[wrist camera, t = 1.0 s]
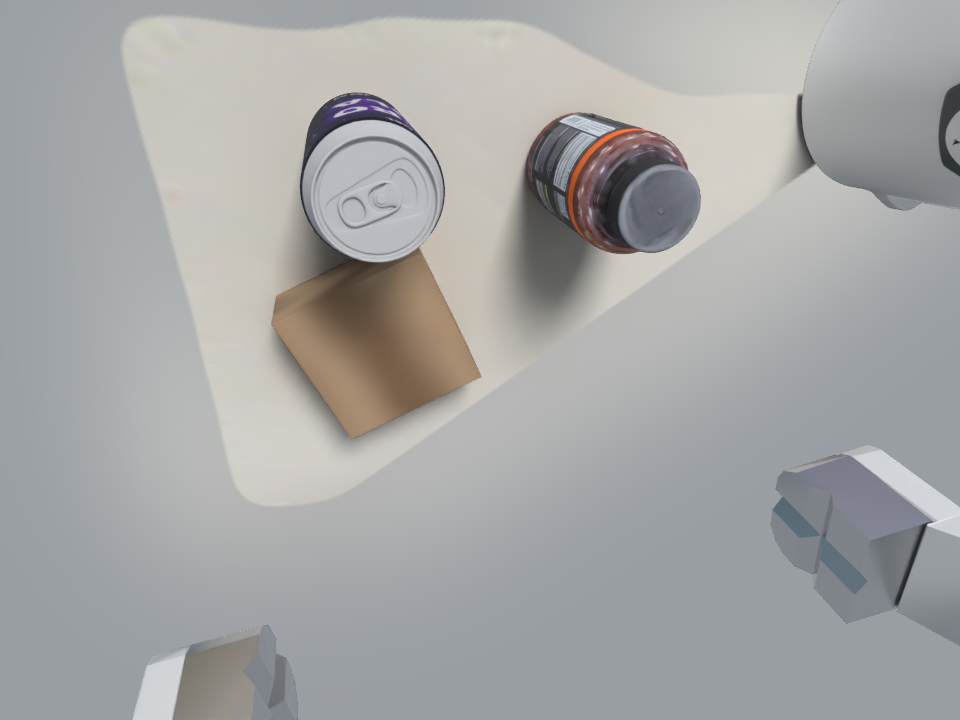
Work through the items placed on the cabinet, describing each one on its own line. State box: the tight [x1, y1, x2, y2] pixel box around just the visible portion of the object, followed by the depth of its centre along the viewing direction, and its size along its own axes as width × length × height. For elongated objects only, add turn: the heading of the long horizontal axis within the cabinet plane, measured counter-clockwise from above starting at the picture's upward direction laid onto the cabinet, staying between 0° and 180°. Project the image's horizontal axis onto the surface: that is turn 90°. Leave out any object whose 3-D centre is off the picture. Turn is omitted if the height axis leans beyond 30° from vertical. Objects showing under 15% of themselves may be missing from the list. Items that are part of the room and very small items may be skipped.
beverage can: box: [300, 93, 445, 262], centre depth 28 cm, size 6×6×12 cm
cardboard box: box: [272, 247, 481, 439], centre depth 36 cm, size 9×9×4 cm
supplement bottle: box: [527, 112, 701, 254], centre depth 31 cm, size 6×6×11 cm
